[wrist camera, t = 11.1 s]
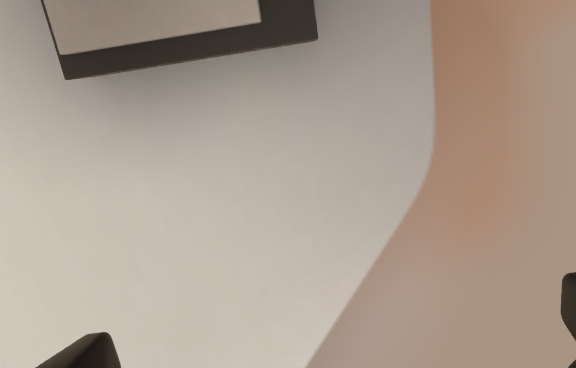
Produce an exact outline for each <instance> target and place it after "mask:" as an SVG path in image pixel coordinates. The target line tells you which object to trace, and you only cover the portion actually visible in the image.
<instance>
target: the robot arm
mask: <svg viewBox="0 0 576 368" xmlns="http://www.w3.org/2000/svg"><path fill="white" fill-rule="evenodd" d="M561 315H562V319H563V321H564V323H565V325H566V327H567V328H568V330H569V331H570V333H571V334H572V336H573V337H574V339H575V340H576V272H574V273H568V274H566V275H565V276H564V278H563V280H562V295H561ZM36 368H121V365H120V361H119V358H118V355H117V352H116V349H115V346H114V343H113V340H112V338H111V336H110V335H109V334H108V333H106V332H101V333H93V334H87V335H85V336H83V337H82V338H80V339H79V340H77V341H76V342H74V343H73V344H71V345H70V346H68V347H67V348H65V349H64V350H62V351H60V352H59V353H57V354H56V355H54V356H53V357H51V358H50V359H48V360H47V361H45V362H44V363H42V364H41V365H39V366H37V367H36Z"/></svg>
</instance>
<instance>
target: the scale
mask: <svg viewBox="0 0 576 368" xmlns="http://www.w3.org/2000/svg"><path fill="white" fill-rule="evenodd" d="M41 2H42V5H43V9H44V12H45V15H46V18H47V22H48V25H49V28H50V31H51V35H52V38H53V41H54V45H55V48H56V51H57V54H58V58H59V61H60V64H61V67H62V71H63V74H64V77H65V80H71V79H80V78H88V77H95V76H101V75H108V74H114V73H120V72H126V71H132V70H138V69H145V68H151V67H157V66H163V65H169V64H175V63H182V62H188V61H194V60H200V59H206V58H212V57H219V56H225V55H231V54H237V53H243V52H249V51H256V50H262V49H268V48H274V47H280V46H286V45H293V44H299V43H305V42H311V41H315V40H317V39H318V34H317V25H316V17H315V9H314V1H313V0H41Z"/></svg>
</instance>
